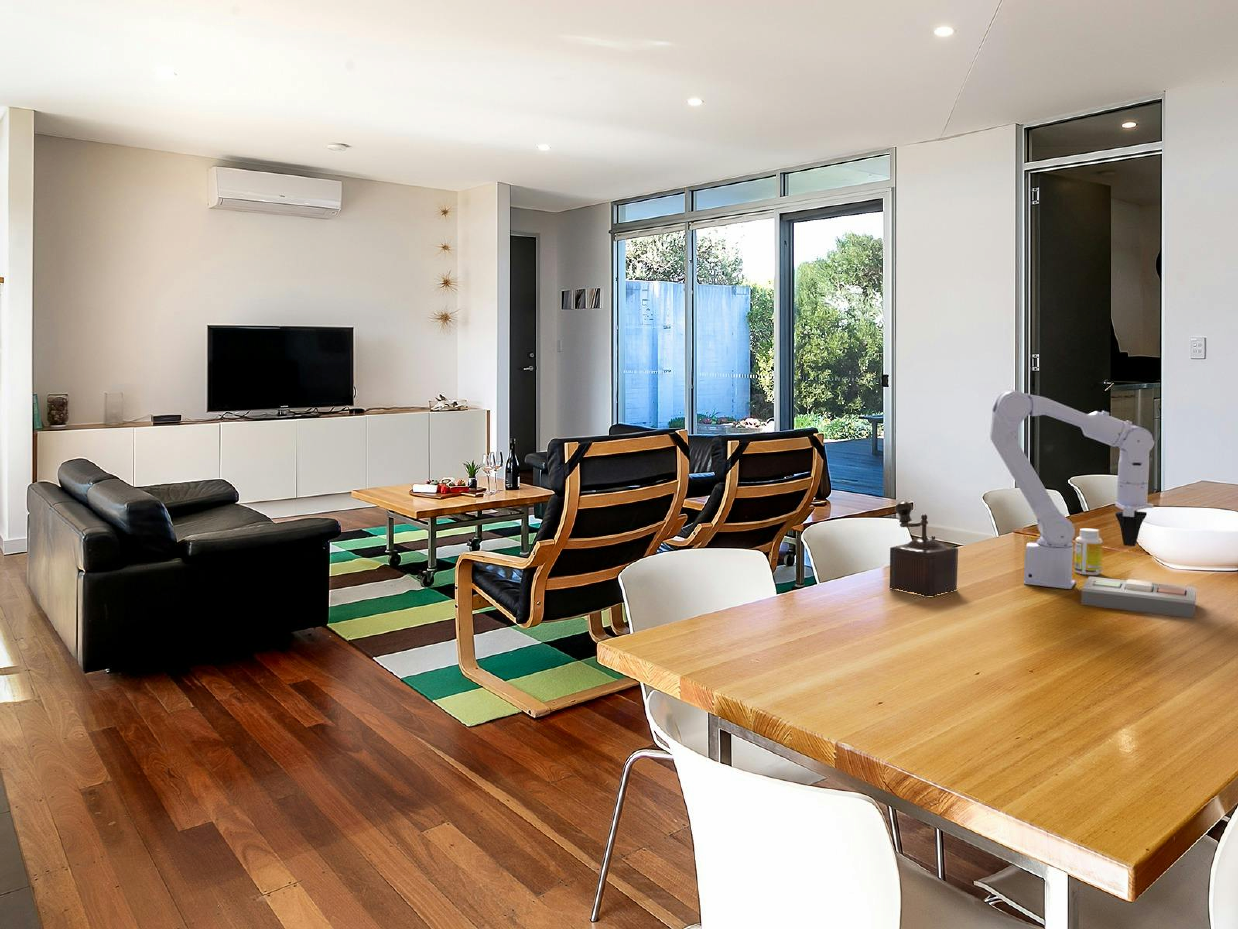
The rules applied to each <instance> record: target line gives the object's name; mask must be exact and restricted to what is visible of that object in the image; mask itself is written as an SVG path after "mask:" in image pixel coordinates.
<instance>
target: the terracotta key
mask: <svg viewBox="0 0 1238 929" xmlns="http://www.w3.org/2000/svg"><path fill="white" fill-rule="evenodd" d="M1158 593H1165V594H1174V595H1183V596H1185V589H1179V588H1170V587H1161V586H1159V590H1158Z"/></svg>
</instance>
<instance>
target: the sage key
mask: <svg viewBox="0 0 1238 929" xmlns="http://www.w3.org/2000/svg"><path fill="white" fill-rule="evenodd" d="M1094 586H1102V587H1111V588H1121V582H1114V581H1105V580H1096V582H1095V583H1094Z"/></svg>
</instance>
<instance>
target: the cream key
mask: <svg viewBox="0 0 1238 929" xmlns="http://www.w3.org/2000/svg"><path fill="white" fill-rule="evenodd" d="M1126 580H1127V582H1126V589H1129V590H1138V591H1147V592H1152V586H1153V583H1154V582H1153V581H1147V580H1138V579H1129V578H1128V579H1126Z"/></svg>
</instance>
